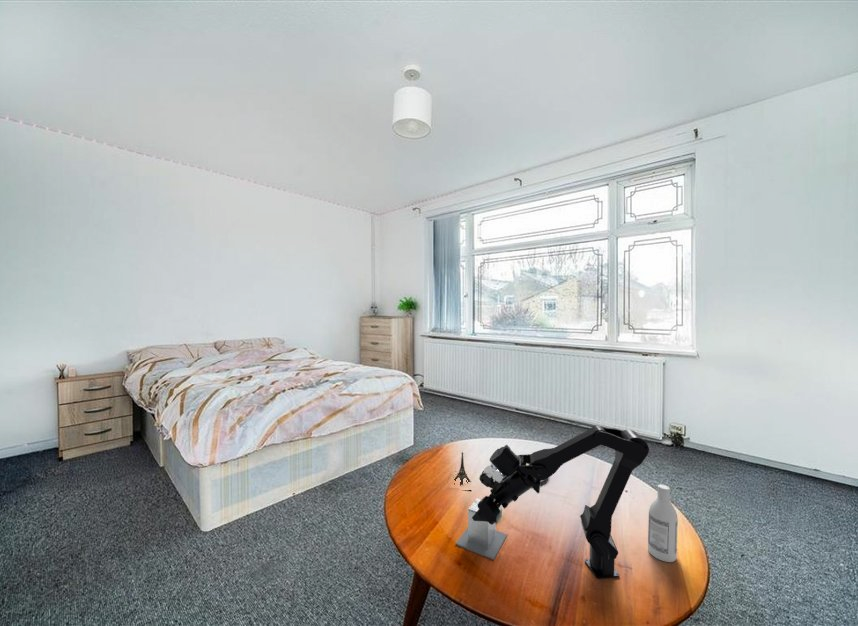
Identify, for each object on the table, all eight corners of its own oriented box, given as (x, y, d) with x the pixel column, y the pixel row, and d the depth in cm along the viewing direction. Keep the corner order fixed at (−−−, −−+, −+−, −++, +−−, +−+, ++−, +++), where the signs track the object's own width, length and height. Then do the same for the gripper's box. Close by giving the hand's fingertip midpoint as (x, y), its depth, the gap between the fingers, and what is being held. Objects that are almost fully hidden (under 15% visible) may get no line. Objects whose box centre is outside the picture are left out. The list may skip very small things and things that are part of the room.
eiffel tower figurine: (450, 472, 150) (450, 441, 150) (474, 474, 149) (474, 443, 148) (446, 490, 136) (446, 456, 135) (472, 492, 134) (473, 458, 134)
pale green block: (501, 516, 119) (501, 508, 118) (497, 522, 115) (497, 514, 115) (490, 512, 121) (490, 504, 121) (486, 518, 117) (486, 510, 117)
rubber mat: (507, 535, 108) (507, 534, 108) (493, 560, 98) (493, 558, 98) (471, 523, 114) (471, 521, 114) (455, 544, 104) (455, 543, 104)
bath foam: (663, 545, 105) (665, 480, 104) (682, 562, 98) (684, 492, 97) (642, 546, 104) (644, 481, 104) (659, 564, 97) (661, 493, 97)
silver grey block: (495, 536, 107) (495, 504, 107) (487, 548, 102) (488, 515, 102) (476, 529, 111) (476, 498, 110) (467, 540, 105) (468, 508, 105)
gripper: (506, 450, 111) (474, 475, 117) (484, 474, 95) (448, 502, 101) (530, 481, 108) (496, 505, 114) (512, 511, 92) (473, 538, 98)
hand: (479, 511), depth 107 cm, fingers open, 9 cm apart
